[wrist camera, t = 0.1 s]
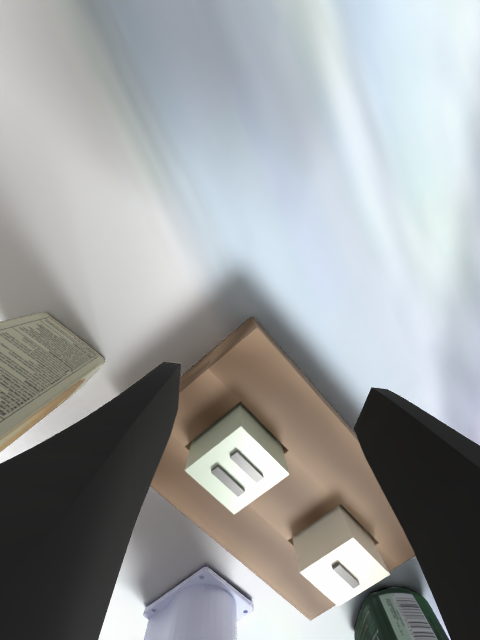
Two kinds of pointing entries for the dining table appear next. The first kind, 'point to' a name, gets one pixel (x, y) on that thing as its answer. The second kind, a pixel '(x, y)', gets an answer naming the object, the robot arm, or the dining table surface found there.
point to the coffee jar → (397, 617)
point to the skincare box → (38, 371)
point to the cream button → (339, 556)
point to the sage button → (236, 459)
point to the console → (301, 457)
